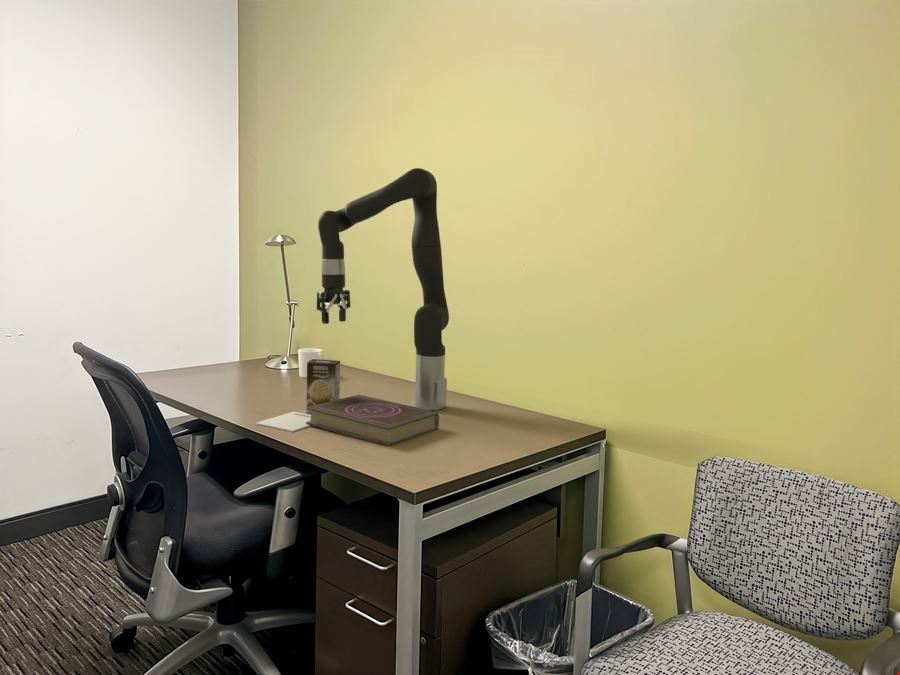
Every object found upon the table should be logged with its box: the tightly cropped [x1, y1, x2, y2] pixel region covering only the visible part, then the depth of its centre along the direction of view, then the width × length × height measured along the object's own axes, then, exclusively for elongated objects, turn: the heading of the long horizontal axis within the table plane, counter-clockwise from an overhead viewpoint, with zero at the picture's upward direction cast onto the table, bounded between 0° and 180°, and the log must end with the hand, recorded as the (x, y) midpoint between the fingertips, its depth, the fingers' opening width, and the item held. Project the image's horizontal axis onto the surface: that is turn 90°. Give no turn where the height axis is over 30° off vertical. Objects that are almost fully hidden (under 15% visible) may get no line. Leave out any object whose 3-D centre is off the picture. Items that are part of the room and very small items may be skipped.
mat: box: [255, 411, 313, 433], centre depth 200 cm, size 14×16×1 cm
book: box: [305, 394, 440, 447], centre depth 197 cm, size 30×22×5 cm
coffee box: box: [305, 359, 341, 415], centre depth 211 cm, size 9×6×16 cm
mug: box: [297, 347, 324, 380], centre depth 264 cm, size 11×9×10 cm
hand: (334, 322), depth 227 cm, fingers open, 8 cm apart
